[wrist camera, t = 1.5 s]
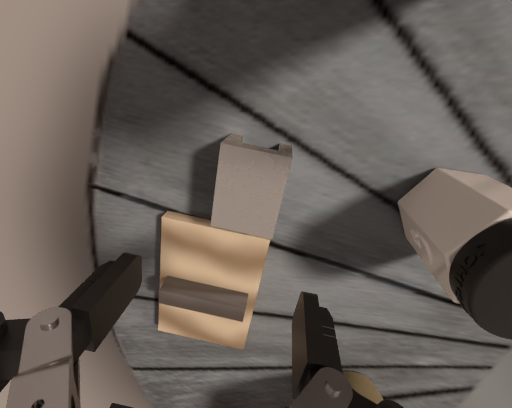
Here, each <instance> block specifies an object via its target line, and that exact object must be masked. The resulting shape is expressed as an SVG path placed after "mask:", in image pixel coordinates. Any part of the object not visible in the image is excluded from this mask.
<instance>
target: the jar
mask: <svg viewBox="0 0 512 408" xmlns="http://www.w3.org/2000/svg"><path fill="white" fill-rule="evenodd" d="M398 206H399V210H400V215H401V219H402V223H403V228H404V232H405V236H406V239H407V240H408V241H409V243H410V244H411V245H412V247H413V248H414V249H415V251H416V252H417V253H418V255H419V256H420V257H421V259H422V260H423V262H424V263H425V264H426V266H427V267H428V268H429V270H430V271H431V272H432V274H433V275H434V276H435V278H436V279H437V280H438V282H439V283H440V285H441V286H442V287H443V289H444V290H445V291H446V293H447V294H448V295H449V297H450V298H451V299H452V301H453V302H455V303H460V305H461V306H462V307H463V308H464V310H465V311H466V312H467V313H468V314H469V315H470V316H471V317H472V318H473V319H474V321H475V322H476V323H477V324H478V325H479V326H480V327H482V328H483V329H484V330H486V331H488V332H489V333H491V334H494V335H496V336H499V337H502V338H506V339H511V340H512V188H511V187H509V186H507V185H505V184H503V183H501V182H499V181H496V180H494V179H492V178H490V177H488V176H486V175H481V174H474V173H467V172H461V171H454V170H448V169H442V168H436V169H435V170H433V171H432V172H431V173H430V174H429V175H428V176H426V177H425V178H424V179H423V180H422V181H421V182H419V183H418V184H417V185H416V186H415V187H414V188H412V189H411V190H410V191H409V192H408V193H407V194H406V195H404V196H403V197H402V198H401V199H400V200H399V201H398Z"/></svg>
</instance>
